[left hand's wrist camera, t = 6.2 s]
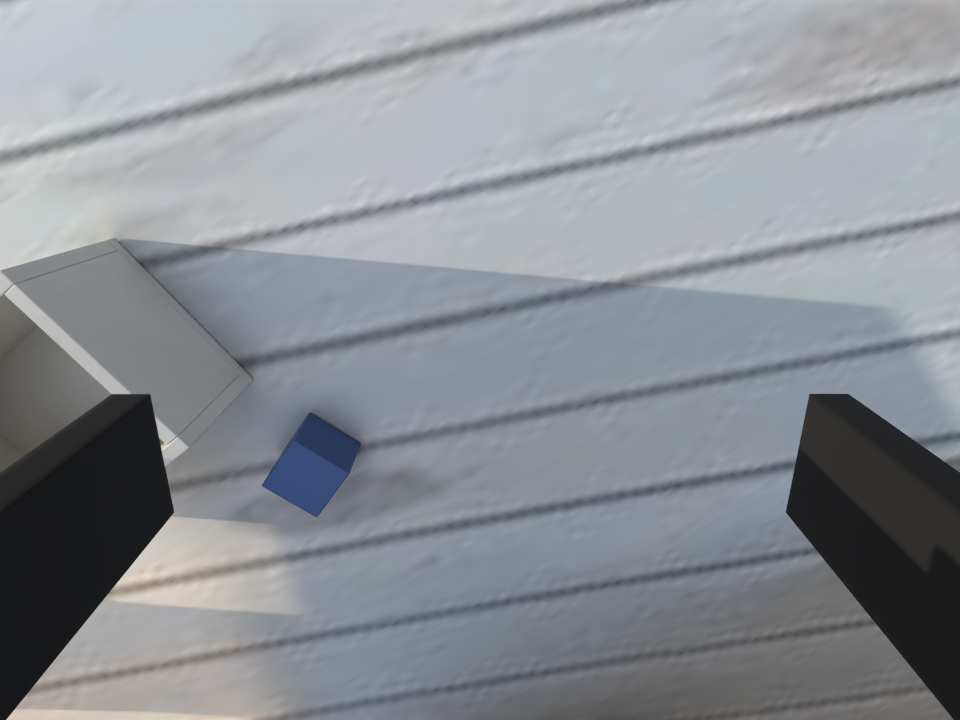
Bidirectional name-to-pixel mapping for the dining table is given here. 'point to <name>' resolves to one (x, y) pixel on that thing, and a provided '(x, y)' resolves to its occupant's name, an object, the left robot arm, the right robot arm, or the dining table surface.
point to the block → (313, 465)
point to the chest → (103, 350)
